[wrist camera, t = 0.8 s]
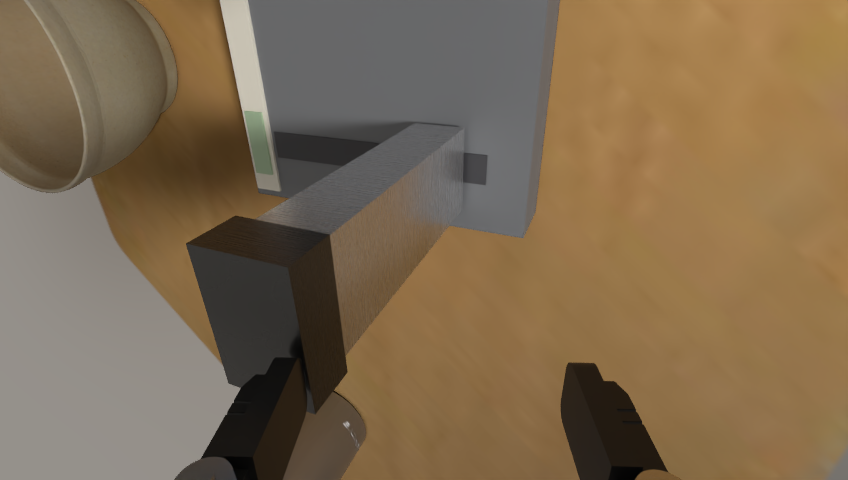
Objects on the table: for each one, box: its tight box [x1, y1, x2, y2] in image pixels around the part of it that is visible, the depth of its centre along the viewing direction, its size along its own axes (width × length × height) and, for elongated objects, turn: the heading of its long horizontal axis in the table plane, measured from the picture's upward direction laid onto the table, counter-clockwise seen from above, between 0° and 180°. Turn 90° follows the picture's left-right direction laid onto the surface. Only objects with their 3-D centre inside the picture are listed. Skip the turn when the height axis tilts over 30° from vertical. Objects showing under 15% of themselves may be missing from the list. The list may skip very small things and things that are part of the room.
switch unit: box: [220, 0, 560, 238], centre depth 27 cm, size 20×22×4 cm
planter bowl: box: [0, 0, 178, 193], centre depth 34 cm, size 16×16×11 cm
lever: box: [186, 123, 464, 414], centre depth 20 cm, size 4×6×16 cm, turn 1°
